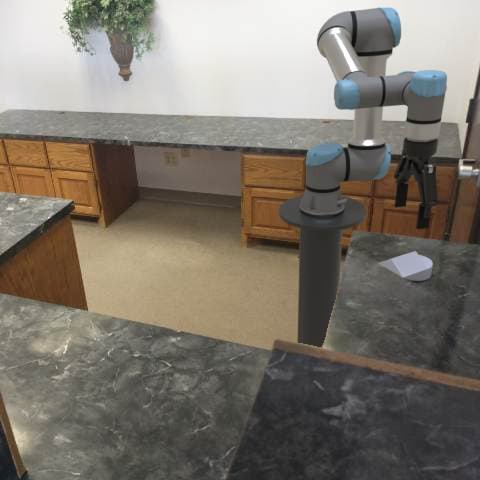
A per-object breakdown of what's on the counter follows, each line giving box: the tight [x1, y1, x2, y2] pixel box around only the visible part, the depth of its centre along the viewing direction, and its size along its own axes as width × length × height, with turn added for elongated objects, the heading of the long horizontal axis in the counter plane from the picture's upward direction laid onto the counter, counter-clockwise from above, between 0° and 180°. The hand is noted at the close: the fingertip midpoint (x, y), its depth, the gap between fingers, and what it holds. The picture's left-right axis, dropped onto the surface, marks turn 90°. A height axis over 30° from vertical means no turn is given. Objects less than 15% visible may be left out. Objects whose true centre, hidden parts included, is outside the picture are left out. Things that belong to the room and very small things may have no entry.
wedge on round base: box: [377, 250, 434, 282], centre depth 138 cm, size 9×7×13 cm
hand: (410, 216), depth 133 cm, fingers open, 13 cm apart
